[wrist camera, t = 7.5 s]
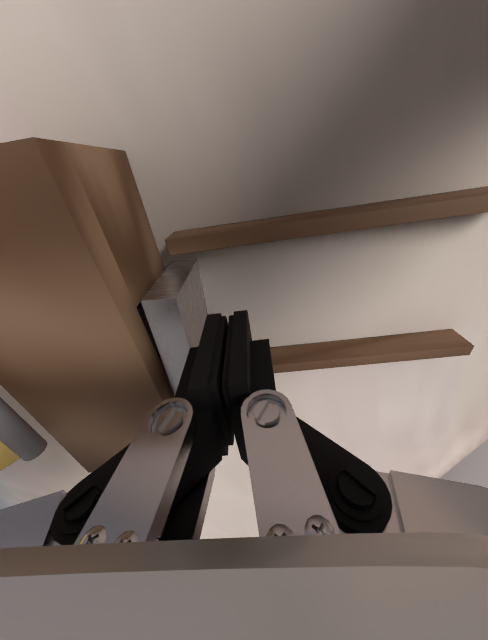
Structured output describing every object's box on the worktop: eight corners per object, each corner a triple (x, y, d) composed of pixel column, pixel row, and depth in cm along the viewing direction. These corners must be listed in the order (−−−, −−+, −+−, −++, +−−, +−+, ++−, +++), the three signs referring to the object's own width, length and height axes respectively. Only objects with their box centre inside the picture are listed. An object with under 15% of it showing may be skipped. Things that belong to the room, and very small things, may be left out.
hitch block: (-19, 176, 9) (-204, 181, 6) (557, 74, 8) (868, -19, 4) (124, 402, 17) (88, 472, 13) (433, 375, 15) (496, 445, 11)
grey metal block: (38, 362, 15) (-23, 419, 11) (-25, 276, 12) (-134, 319, 8) (214, 352, 14) (205, 409, 11) (196, 259, 11) (176, 298, 8)
